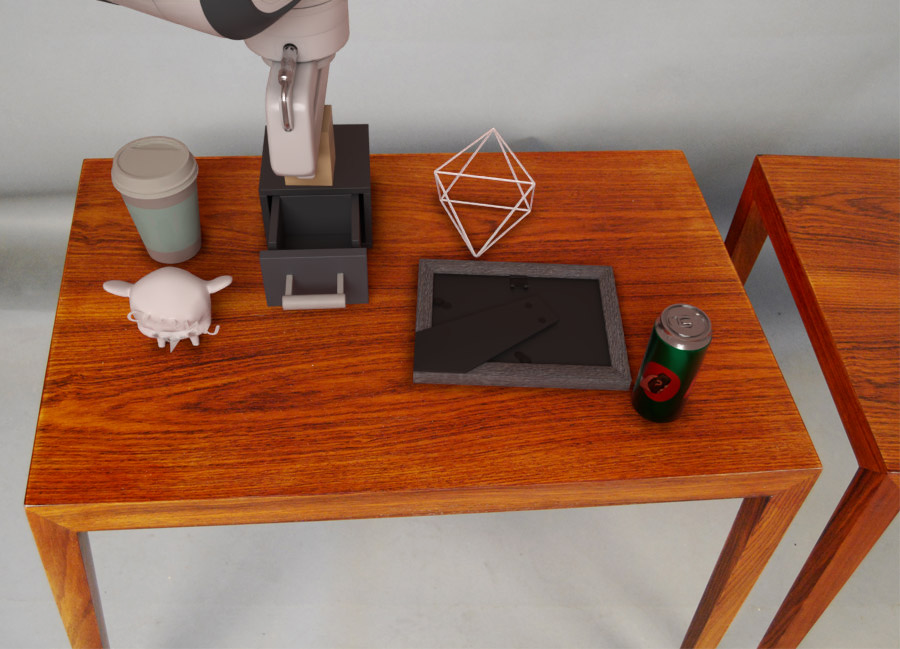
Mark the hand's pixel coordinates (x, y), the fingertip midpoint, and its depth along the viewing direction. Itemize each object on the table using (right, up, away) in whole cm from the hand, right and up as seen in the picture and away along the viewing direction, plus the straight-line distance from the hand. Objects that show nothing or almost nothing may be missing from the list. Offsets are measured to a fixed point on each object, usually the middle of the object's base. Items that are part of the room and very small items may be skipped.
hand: (309, 155), depth 81 cm
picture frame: (+20, -16, +8) cm, 27 cm away
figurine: (-14, -17, +6) cm, 23 cm away
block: (0, -1, +1) cm, 2 cm away
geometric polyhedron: (+17, -4, +19) cm, 26 cm away
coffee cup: (-17, -7, +14) cm, 24 cm away
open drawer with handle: (-1, -12, +10) cm, 15 cm away
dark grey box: (-2, -3, +19) cm, 19 cm away
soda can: (+33, -24, +2) cm, 41 cm away
